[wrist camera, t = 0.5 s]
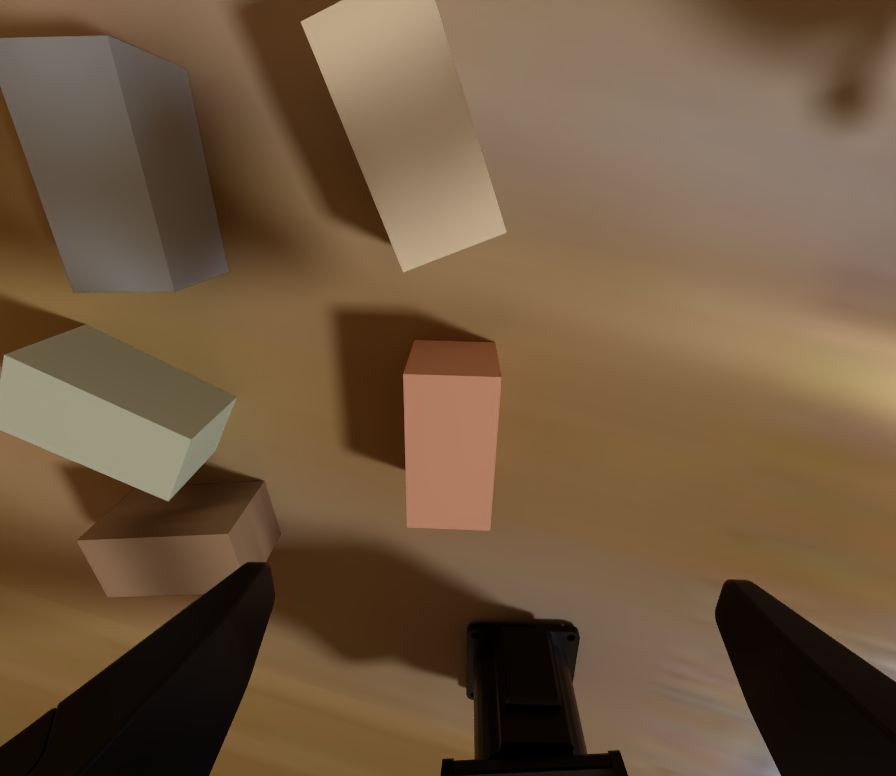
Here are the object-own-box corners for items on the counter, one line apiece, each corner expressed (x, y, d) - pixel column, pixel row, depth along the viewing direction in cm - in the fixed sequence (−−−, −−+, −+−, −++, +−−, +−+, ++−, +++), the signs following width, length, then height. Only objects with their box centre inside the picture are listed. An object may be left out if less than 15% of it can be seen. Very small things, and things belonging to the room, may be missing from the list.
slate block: (230, 270, 19) (174, 292, 15) (148, 271, 19) (73, 292, 15) (188, 69, 16) (106, 35, 12) (92, 71, 16) (-17, 38, 12)
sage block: (238, 395, 21) (191, 439, 18) (216, 449, 22) (168, 501, 19) (88, 323, 20) (4, 354, 16) (74, 385, 21) (-7, 427, 18)
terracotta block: (486, 474, 23) (490, 530, 19) (416, 471, 23) (406, 527, 19) (494, 341, 20) (501, 377, 16) (414, 338, 20) (403, 374, 16)
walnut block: (265, 479, 23) (227, 534, 19) (282, 532, 25) (249, 592, 21) (136, 485, 24) (76, 540, 20) (160, 537, 25) (107, 597, 21)
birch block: (498, 222, 18) (506, 232, 14) (415, 254, 18) (403, 272, 15) (432, 13, 15) (422, -42, 11) (339, 59, 16) (300, 21, 12)
